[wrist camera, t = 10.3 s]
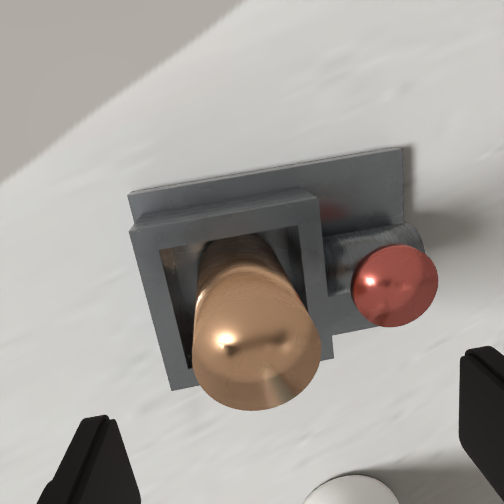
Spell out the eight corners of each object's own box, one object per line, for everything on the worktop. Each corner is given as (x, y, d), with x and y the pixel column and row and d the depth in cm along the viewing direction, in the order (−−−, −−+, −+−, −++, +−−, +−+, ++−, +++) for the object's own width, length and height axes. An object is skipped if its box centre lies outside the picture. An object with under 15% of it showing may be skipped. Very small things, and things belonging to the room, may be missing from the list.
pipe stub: (273, 226, 20) (314, 285, 12) (284, 301, 21) (327, 396, 14) (189, 241, 20) (179, 311, 12) (206, 316, 21) (205, 421, 13)
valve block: (391, 147, 20) (469, 155, 14) (396, 311, 24) (462, 374, 18) (131, 191, 20) (98, 219, 14) (173, 355, 23) (161, 436, 17)
